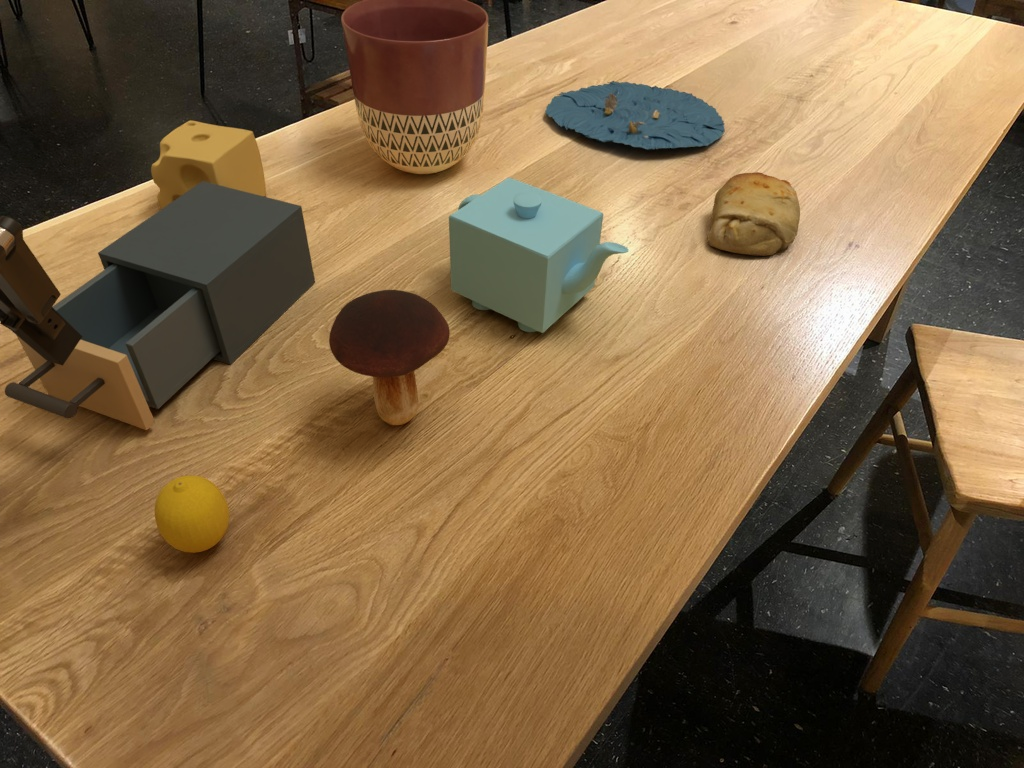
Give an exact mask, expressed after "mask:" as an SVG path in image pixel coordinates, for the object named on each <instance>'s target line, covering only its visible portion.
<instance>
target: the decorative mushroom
mask: <svg viewBox="0 0 1024 768" xmlns="http://www.w3.org/2000/svg"><path fill="white" fill-rule="evenodd" d="M449 341H450V326H449V323H448V321H447V320H446V318H445V317H444V315H443V314H442V312H441V311H440V310H439V309H438V308H437V307H436V306H435V305H434V304H433V303H432V302H431V301H429V300H428V299H426V298H425V297H423V296H421V295H418V294H416V293H413V292H409V291H405V290H399V289H382V290H378V291H372V292H368V293H365V294H362V295H360V296H357V297H355V298H353V299H351V300H350V301H348V302H347V303H346V304H345V305H344V306H343V307H342V308H341V309H340V311H339V312H338V313H337V315H336V316H335V318H334V321H333V323H332V325H331V329H330V332H329V337H328V344H329V348H330V351H331V353H332V355H333V358H334V359H335V360H336V361H337V362H338V363H339V364H340V365H341V366H342V367H344V368H345V369H347V370H349V371H351V372H354V373H355V374H359V375H362V376H367V377H371V378H372V383H373V384H372V385H373V398H374V404H375V409H376V413H377V414H378V416H379V418H380V419H381V420H382V421H383V422H385V423H386V424H388V425H389V426H403V425H404V424H407V423H409V422H410V421H411V420H412V419H414V417H415V416H416V414H417V412H418V406H419V395H418V386H417V381H416V373H415V371H416V370H418V369H420V368H421V367H422V366H424V365H426V364H427V363H428V362H430V361H431V360H432V359H434V358H435V357H437V356H438V355H439V354H440V353H442V352H443V351H444V349H445V348H446V347H447V345H448V344H449Z"/></svg>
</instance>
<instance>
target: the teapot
mask: <svg viewBox="0 0 1024 768" xmlns="http://www.w3.org/2000/svg"><path fill="white" fill-rule="evenodd" d="M603 220H604V213H603V212H602V211H600V210H597V209H595V208H592V207H589V206H587V205H584V204H581V203H579V202H577V201H574V200H571V199H569V198H566V197H564V196H561V195H558V194H555V193H553V192H550V191H548V190H545V189H542V188H540V187H537V186H533V185H531V184H529V183H526V182H523V181H521V180H518V179H514V178H512V177H509V176H508V177H506V178H505V179H504V180H502V181H501V182H499V183H498V184H496V185H495V186H492V187H491V188H489V189H488V190H486V191H485V192H483V193H482V194H479V193H478V194H471V195H469V196H467V197H465V198H464V199H463V200H462V201H461V202H460V204H459V205H458V208H457V210H456V211H455V212H452V213H451V214H450V215H449V216H448V233H449V234H448V235H449V267H450V269H449V270H450V291H451V292H454V293H456V294H458V295H459V296H462V297H464V298H467V299H469V300H471V305H472V306H473V308H474V309H477V310H480V311H488V310H491V311H494V312H496V313H498V314H500V315H503V316H505V317H506V318H509V319H510V320H513V321H516V322H517V326H518V328H519V330H521V331H524V332H526V333H535V332H538V333H541V334H544V333H545V332H546V331H547V330H548V329H549V328H550V327H552V325H554V324H555V323H556V322H557V321H558V320H559V319H560V318H561V317H562V316H563V315H565V314H566V313H567V312H568V311H569V310H570V309H571V308H573V307H574V305H576V304H577V303H578V302H579V301H580V300H581V299H582V298H583V297H585V296H586V295H587V294H588V293H589V292H590V291H591V290H593V288H594V287H595V285H596V284H595V283H596V280H597V278H598V276H599V274H600V272H601V270H602V268H603V265H604V264H605V262H606V261H607V259H608V258H609V257H611V256H613V255H618V254H626V253H628V252H629V249H628V247H626V246H625V245H622V244H620V243H618V242H611V241H604V242H601V237H602V228H603Z"/></svg>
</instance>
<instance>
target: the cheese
mask: <svg viewBox="0 0 1024 768" xmlns="http://www.w3.org/2000/svg"><path fill="white" fill-rule="evenodd" d="M159 149H160V150H159V151H160V154H159V157H158V159H157V160H156V161H155V162H154V163H152V164H151V169H150V173H151V177H152V180H153V183H154V184H155V185H156V186H157V188H159V192H158V193H157V196H156V199H157V200H156V201H157V204H158V208H159V211H160V210H161V209H163V208H164V207H166V206H167V205H169V204H170V203H171V202H173V201H174V200H176V199H177V198H179V197H180V196H182V195H183V194H185V193H186V192H188V191H189V190H190V189H192V188H193V187H195V186H196V185H198V184H199V183H201V182H202V181H204V182H208V183H212V184H216V185H220V186H224V187H228V188H232V189H236V190H240V191H244V192H248V193H252V194H256V195H260V196H264V197H267V191H266V190H267V188H266V179H265V178H266V177H265V172H264V171H265V170H264V167H263V166H264V165H263V162H262V161H263V160H262V157H261V153H260V148H259V145H258V142H257V139H256V137H255V134H254V131H252V130H248V129H243V128H239V127H238V128H237V127H230V126H223V125H222V126H221V125H216V124H210V123H206V122H200V121H196V120H191V119H190V120H188V121H186V122H185V123H183V124H181V125H180V126H178V127H176V128H174V129H173V130H172V131H171V132H170V133H168V134H167V135H166V136H164V137H163V138H162V139H161V140H160V142H159Z"/></svg>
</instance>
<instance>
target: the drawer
mask: <svg viewBox="0 0 1024 768" xmlns="http://www.w3.org/2000/svg"><path fill="white" fill-rule="evenodd" d="M52 307H53V308H54V309H55V310H56V311H57V312H58V313H59V314H60V315H61V316H62V317H63V318H64V319H65V320H66V321H67V322H68V323H69V324H70V325H71V326H72V327H73V328H74V329H75V330H76V331H77V332H78V333H79V334H80V335H82V336H83V337H82V338H81V340H80V341H79V342H78V344H77V345H76V347H75V348H74V350H73V351H72V353H71V354H70V356H69V357H68V359H67V360H66V362H65V363H64V365H63V366H62V365H59V364H56V363H53V362H50V361H47V360H45V359H44V358H43V357H42V356H41V355H40V354H38V353H37V352H36V351H35V350H34V349H32V348H31V347H30V346H29V345H28V344H27V343H25V342H24V341H23V340H22V339H21V338H19V337H18V336H17V335H16V334H15V335H16V337H17V339H18V341H19V344H20V345H21V347H22V349H23V350H24V352H25V354H26V356H27V358H28V360H29V361H30V364H31V365H32V367H33V369H34V371H32V372H31V373H30V374H28V375H27V376H26V377H24V378H23V379H21V380H20V381H19V382H18V383H17V382H14V381H13V382H9V383H8V384H7V385H6V386H5V388H4V394H5V396H6V397H8V398H11V399H13V400H15V401H18V402H21V403H24V404H27V405H29V406H31V407H34V408H37V409H40V410H43V411H46V412H48V413H51V414H53V415H56V416H59V417H62V418H64V419H67V420H69V419H72V418H74V417H75V416H76V414H77V413H78V407H81V408H84V409H87V410H90V411H91V412H95V413H98V414H100V415H104V416H106V417H109V418H111V419H114V420H117V421H120V422H123V423H124V424H125V423H126V424H128V425H130V426H134V427H136V428H139V429H142V430H145V431H148V430H149V429H150V428H151V427H153V425H154V424H155V423H156V421H155V419H154V416H153V413H152V412H151V410H150V408H153V409H156V410H159V409H160V408H161V407H162V406H163V405H164V404H165V403H166V402H168V401H169V400H170V399H171V398H172V397H173V396H174V395H175V394H176V393H178V391H179V390H180V389H182V388H183V386H185V385H186V384H187V383H188V382H189V381H190V380H191V379H192V378H193V377H194V376H195V375H197V374H198V373H199V372H200V370H202V369H203V368H204V367H205V366H206V365H207V364H208V363H209V362H210V361H211V360H213V359H212V358H213V357H214V356H215V355H216V354H217V353H219V352H220V351H221V349H220V346H219V343H218V340H217V336H216V333H215V330H214V327H213V323H212V320H211V317H210V314H209V310H208V307H207V304H206V301H205V297H204V294H203V291H202V289H200V288H196V287H193V286H189V285H186V284H183V283H179V282H176V281H173V280H169V279H166V278H162V277H159V276H156V275H152V274H149V273H146V272H142V271H139V270H135V269H132V268H129V267H125V266H122V265H119V264H115V263H113V264H112V265H110V266H109V267H108V268H106V269H103V270H102V271H100V272H99V273H98V274H96V275H94V276H93V277H92V278H91V279H89V280H88V281H86V282H85V283H83V284H81V286H79V287H78V288H77V289H75V290H74V291H73V292H71V293H69V294H67V296H65V297H64V298H62V299H61V300H60V301H58V302H57V303H55V304H54V305H53V306H52ZM38 380H40V382H41V384H42V386H43V387H44V390H45V391H46V392H42V391H40V390H37V389H34V388H31V387H30V386H32V385H33V384H35V382H36V381H38Z"/></svg>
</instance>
